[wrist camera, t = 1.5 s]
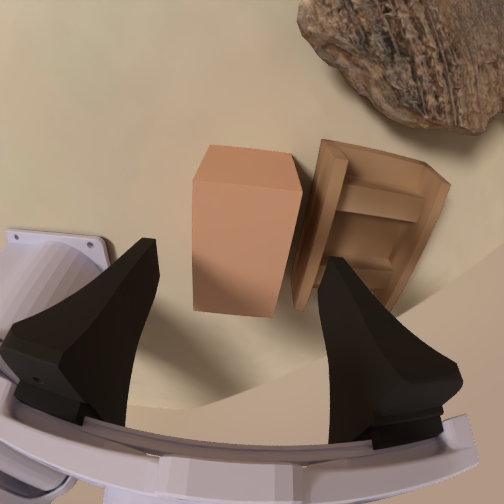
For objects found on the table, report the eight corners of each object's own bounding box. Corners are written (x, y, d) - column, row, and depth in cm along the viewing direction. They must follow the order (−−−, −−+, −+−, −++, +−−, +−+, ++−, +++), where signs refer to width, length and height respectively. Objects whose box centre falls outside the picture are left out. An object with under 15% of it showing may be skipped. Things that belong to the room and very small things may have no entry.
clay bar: (270, 261, 18) (272, 318, 15) (205, 255, 18) (193, 310, 15) (290, 152, 14) (302, 191, 11) (210, 143, 14) (192, 180, 10)
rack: (377, 283, 19) (388, 314, 17) (290, 277, 19) (294, 310, 17) (425, 162, 14) (451, 184, 12) (321, 138, 14) (334, 157, 11)
